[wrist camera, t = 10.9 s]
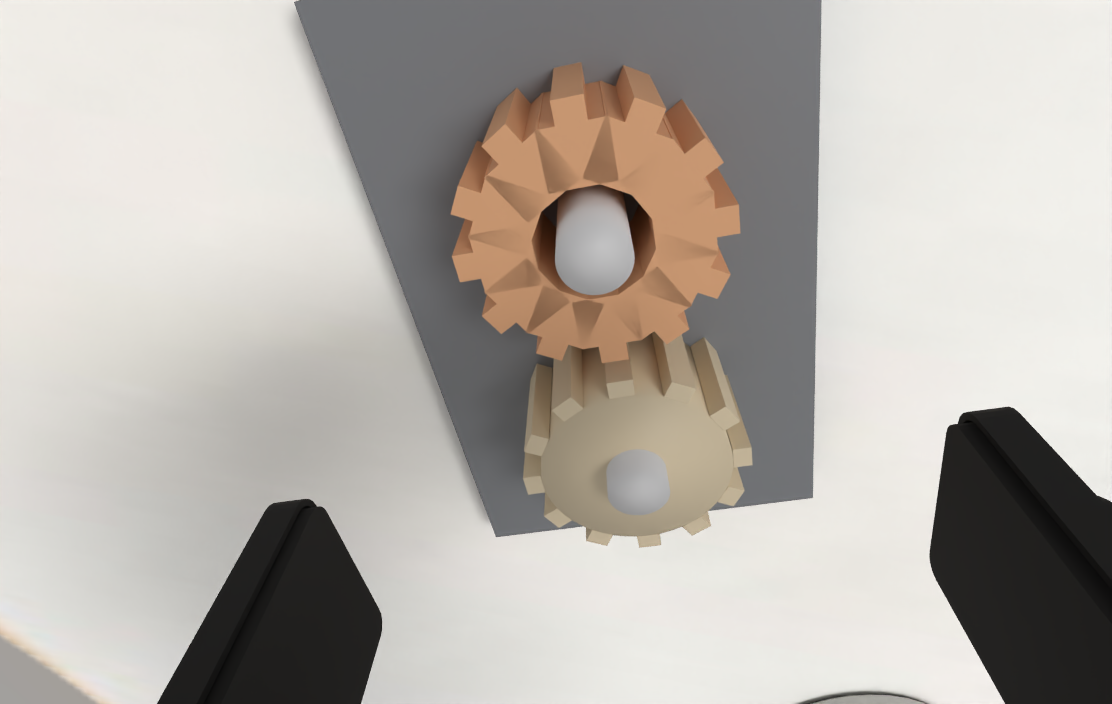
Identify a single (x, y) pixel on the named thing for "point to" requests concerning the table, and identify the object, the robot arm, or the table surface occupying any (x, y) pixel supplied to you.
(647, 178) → the loose gear
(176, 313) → the table surface
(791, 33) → the gear board
